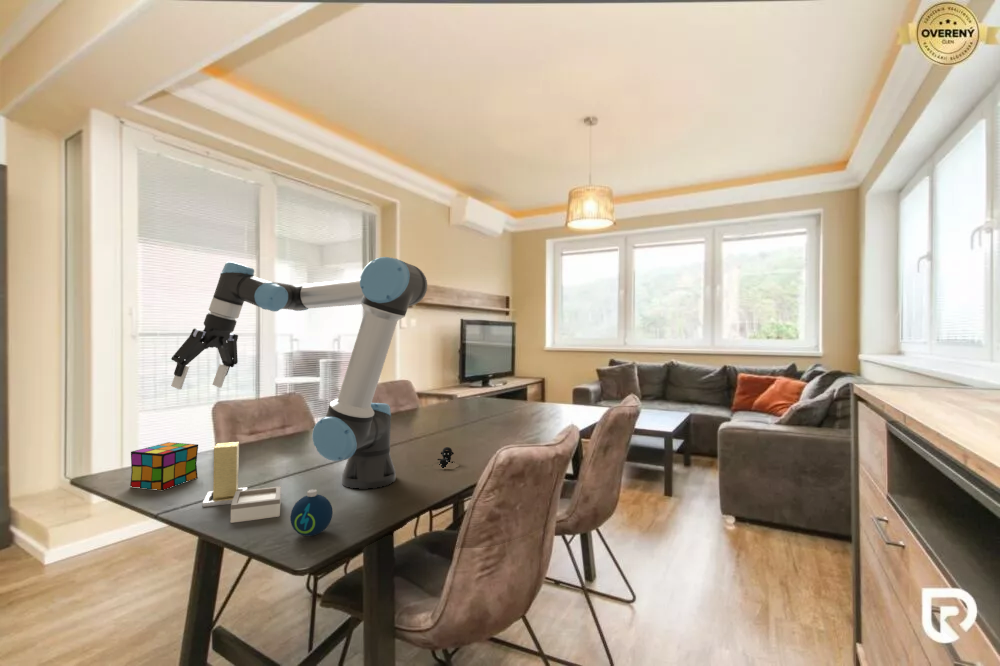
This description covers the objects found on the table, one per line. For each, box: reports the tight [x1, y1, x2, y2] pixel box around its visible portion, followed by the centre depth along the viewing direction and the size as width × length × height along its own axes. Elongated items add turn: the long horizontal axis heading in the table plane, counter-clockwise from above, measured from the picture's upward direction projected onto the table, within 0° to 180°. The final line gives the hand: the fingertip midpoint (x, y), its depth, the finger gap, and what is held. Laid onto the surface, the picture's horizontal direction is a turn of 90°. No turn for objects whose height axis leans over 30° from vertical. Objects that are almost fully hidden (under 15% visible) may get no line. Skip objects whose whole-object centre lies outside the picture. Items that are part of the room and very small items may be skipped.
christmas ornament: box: [289, 489, 334, 537], centre depth 98 cm, size 8×8×10 cm
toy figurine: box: [437, 446, 454, 468], centre depth 151 cm, size 10×10×6 cm
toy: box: [129, 441, 199, 491], centre depth 130 cm, size 11×10×10 cm
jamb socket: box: [201, 486, 248, 508], centre depth 118 cm, size 9×9×1 cm
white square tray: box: [230, 485, 282, 524], centre depth 110 cm, size 10×10×4 cm
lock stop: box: [212, 441, 240, 501], centre depth 118 cm, size 5×5×14 cm
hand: (197, 386), depth 129 cm, fingers open, 13 cm apart
